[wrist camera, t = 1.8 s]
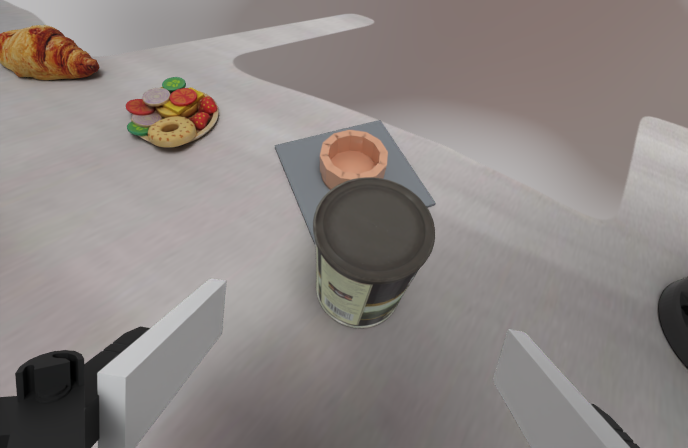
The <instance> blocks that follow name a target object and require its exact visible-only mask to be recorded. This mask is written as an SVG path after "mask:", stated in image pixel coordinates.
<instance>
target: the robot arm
mask: <svg viewBox="0 0 688 448" xmlns="http://www.w3.org/2000/svg"><path fill="white" fill-rule="evenodd" d="M225 293H226V281H224V280H219V279H213V278H210V279H209V280H207V281H206V282H205V283H204V284H203V285H201V286H200V287H199V288H198V289H197V290H196V291H194V292H193V293H192V294H191V295H190V296H188V297H187V298H186V299H185V300H184V301H182V302H181V303H180V304H179V305H178V306H176V307H175V308H174V309H173V310H172V311H170V312H169V313H168V314H167V315H166V316H164V317H163V318H162V319H161V320H160V321H159V322H157V323H156V324H155V325H154V326H153V327H151V328H146V327H138V328H136V329H134V330H131V331H129V332H127V333H125V334H123V335H122V336H121V337H119V338H118V339H117V340H116V341H114V342H113V344H110V345H109V346H108V347H106V348H105V349H104V351H101V352H100V353H99V354H97V355H96V356H95V357H93V358H92V359H91V360H90V361H88V362H87V363H86V364H84V358H83V356H82V354H80V353H78V352H76V351H68V350H63V351H53V352H50V353H46V354H42V355H39V356H37V357H35V358H33V359H30V360H28V361H27V362H26V363H24V364H23V365H22V366H20V367H19V369H18V370H17V372H16V373H15V375H16V388H17V396H12V397H0V448H91V447H92V446H93V445H94V444H95V443H96V442H97V441H98V448H135V447H136V446H137V445H138V443H139V442H140V441H141V439H142V438H143V437H144V435H145V434H146V433H147V431H148V430H149V429H150V427H151V426H152V425H153V424H154V422H155V421H156V420H157V418H158V417H159V416H160V414H161V413H162V412H163V410H164V409H165V408H166V407H167V405H168V404H169V403H170V401H171V400H172V399H173V397H174V396H175V395H176V393H177V392H178V391H179V389H180V388H181V387H182V386H183V384H184V383H185V382H186V380H187V379H188V378H189V376H190V375H191V374H192V372H193V371H194V370H195V369H196V367H197V366H198V365H199V363H200V362H201V361H202V359H203V358H204V357H205V355H206V354H207V353H208V351H209V350H210V349H211V348H212V346H213V345H214V344H215V342H216V341H217V340H218V338H219V337H220V336H221V334H222V328H223V316H224V305H225ZM659 315H660V321H661V324H662V327H663V330H664V332H665V335H666V337H667V339H668V341H669V343H670V344H671V346H672V348H673V349H674V351H675V352H676V354H677V355H678V356H679V358H680V359H681V360H682V362H683V363H684V364H685V365H686V366H687V367H688V277H686V278H684V279H681V280H679V281H676V282H674V283H672V284H670V285H669V286H668V287H667V288H666V289H665V290H664V291H663V293H662V295H661V298H660V302H659ZM493 382H494V384H495V386H496V388H497V389H498V391H499V393H500V395H501V396H502V398H503V400H504V401H505V403H506V405H507V407H508V408H509V410H510V412H511V414H512V415H513V417H514V419H515V421H516V422H517V424H518V426H519V428H520V429H521V431H522V433H523V434H524V436H525V438H526V440H527V441H528V443H529V445H530V447H531V448H640V447H639V446H638V445H637V444H635V443H633V440H632V439H631V438H630V437H629V436H628V435H627V434H626V433H625V432H623V429H622V428H621V427H620V426H619V425H618V424H617V423H616V422H615V421H614V420H613V419H612V418H611V417H610V416H609V415H608V414H606V413H605V412H604V411H602V410H601V409H600V408H598V407H597V406H596V405H594V404H590V403H589V402H588V401H587V400H586V399H585V397H584V396H583V395H582V394H581V393H580V392H579V391H578V390H577V389H576V388H575V386H574V385H573V384H572V383H571V382H570V381H569V380H568V379H567V378H566V377H565V375H564V374H563V373H562V372H561V371H560V370H559V369H558V368H557V367H556V366H555V365H554V363H553V362H552V361H551V360H550V359H549V358H548V357H547V356H546V355H545V354H544V352H543V351H542V350H541V349H540V348H539V347H538V346H537V345H536V344H535V343H534V341H533V340H532V339H531V338H530V337H529V336H528V335H527V334H526V333H525V332H523V331H517V330H511V329H508V331H507V334H506V338H505V341H504V344H503V348H502V351H501V354H500V357H499V361H498V364H497V367H496V371H495V374H494V377H493Z"/></svg>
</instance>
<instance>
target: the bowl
mask: <svg viewBox="0 0 688 448" xmlns="http://www.w3.org/2000/svg"><path fill="white" fill-rule="evenodd" d="M387 157H388V151H387V150H386V148H385V147H384V145H383V144H382V142H381V140H379V139H378V138H376V137H374V136H372V135H371V134H369V133H367V132H363V131H355V130H346V131H342V132H338V133H334V134H333V135H331V136H330V137H329V138H328V139H327V140H325V141H324V142H323V144H322V148H321V152H320V172H321V176H322V180H323V182H324V184H325V185H326V186H327V187H328V188H329V189H330V190H331V189H332V188H334V187H335V186H337V185H339V184H341V183H343V182H345V181H348V180H352V179H356V178H364V177H374V178H382V179H383V178H384V174H385V170H386V166H387Z"/></svg>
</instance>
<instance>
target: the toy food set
mask: <svg viewBox="0 0 688 448" xmlns="http://www.w3.org/2000/svg"><path fill="white" fill-rule="evenodd" d="M162 86H163V87H161V88H154V89H150V90H148V91H147V92H145V93H144V94H143V99H134V100H131V101H129V102H127V104H126V109H127V110H128V111H129V112H130V113H132V114H133V115H132V119H131V122H130V123H129V124H128V125H127V129H128V131H129V132H130V133H131V134H134V135H137V136H139V137H141V138H142V139H144V140H146V141H148V142H151V143H152V144H154V145H156V146H159V147H176V146H180V145H183V144H186V143H189V142H192V141H194V140H196V139H198V138H200V137H202V136H203V135H205V134H206V133H207V132H208V131H209V130H210V129H211V128H212V127H213V126H214V124H215V123H216V121H217V118H218V106H217V104H216V102H215V101H214V100H213V99H212V98H211V97H210V96H209V95H207V94H205V93H203V92H200V91H197V90H195V89H193V88H185V86H186V83H185V80H184V79H182V78H179V77H172V78H168V79H166V80H165V81H164V82H163V83H162Z"/></svg>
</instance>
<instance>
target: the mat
mask: <svg viewBox="0 0 688 448" xmlns="http://www.w3.org/2000/svg"><path fill="white" fill-rule="evenodd" d="M346 130H355V131H363V132H367V133H369V134H371V135H372V136H374V137H376V138H378V139H379V140H381V142H382V144H383V145H384V147H385V148H386V150H387V151H388V157H387V166H386V170H385V174H384V178H383V179H387V180H390V181H393V182H396V183H398V184H401V185H403V186H404V187H406V188H408V189H409V190H411V191H412V192H413V193H415V194H416V195H417V196H418V197H419V198H420V199H421V200H422V202H423V203H424V204H425V205H426V207H430V206H434V205H435V201H434V200H433V198H432V197H431V195H430V194H429V192H428V191H427V189H426V188H425V186H424V185H423V183H422V182H421V180H420V179H419V177H418V176H417V174H416V173H415V171H414V170H413V168H412V167H411V165H410V164H409V162H408V161H407V159H406V158H405V156H404V155H403V153H402V152H401V150H400V149H399V147H398V146H397V144H396V143H395V142H394V140H393V139H392V137H391V136H390V134H389V133H388V131H387V130H386V128H385V127H384V125H383V124H382V122H381V121H380V120H378V121H374V122H370V123H366V124H362V125H357V126H353V127H349V128H345V129H341V130H337V131H333V132H328V133H324V134H320V135H316V136H312V137H308V138H304V139H299V140H295V141H291V142H287V143H283V144H279V145H275V149H276V151H277V154H278V156H279V159H280V161H281V163H282V166H283V168H284V171H285V173H286V176H287V178H288V181H289V183H290V185H291V188H292V190H293V193H294V195H295V198H296V200H297V202H298V205H299V207H300V210H301V212H302V215H303V217H304V219H305V222H306V224H307V227H308V229H309V232H310V234H311V237H312V239H313V241H314V244H315V238H314V233H313V219H314V214H315V211H316V208H317V206H318V204H319V203H320V201H321V199H322V198H323V197H324V196H325V195H326V194H327V193H328V192H329V191H330V189H329V188H328V187H327V186H326V185H325V184H324V182H323V180H322V176H321V172H320V152H321V148H322V144H323V142H324V141H325V140H327V139H328V138H329V137H330V136H331V135H333V134H334V133H338V132H342V131H346Z"/></svg>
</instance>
